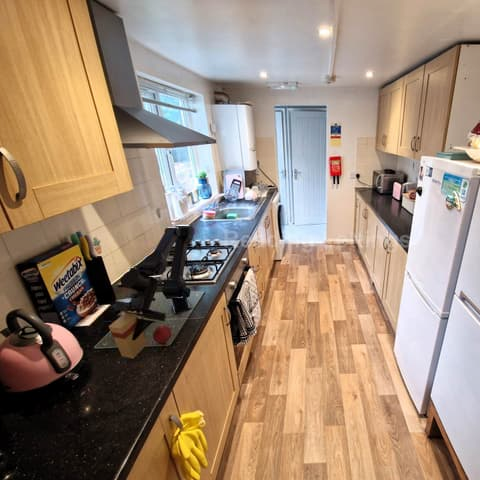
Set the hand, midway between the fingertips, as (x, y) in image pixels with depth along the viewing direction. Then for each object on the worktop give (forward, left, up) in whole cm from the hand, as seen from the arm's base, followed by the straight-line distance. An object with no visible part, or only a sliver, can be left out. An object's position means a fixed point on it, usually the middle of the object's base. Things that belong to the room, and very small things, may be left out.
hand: (127, 339), depth 89 cm
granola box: (-1, +1, -6) cm, 6 cm away
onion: (-1, +10, -8) cm, 13 cm away
